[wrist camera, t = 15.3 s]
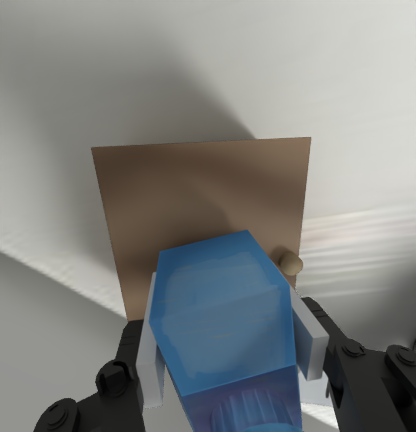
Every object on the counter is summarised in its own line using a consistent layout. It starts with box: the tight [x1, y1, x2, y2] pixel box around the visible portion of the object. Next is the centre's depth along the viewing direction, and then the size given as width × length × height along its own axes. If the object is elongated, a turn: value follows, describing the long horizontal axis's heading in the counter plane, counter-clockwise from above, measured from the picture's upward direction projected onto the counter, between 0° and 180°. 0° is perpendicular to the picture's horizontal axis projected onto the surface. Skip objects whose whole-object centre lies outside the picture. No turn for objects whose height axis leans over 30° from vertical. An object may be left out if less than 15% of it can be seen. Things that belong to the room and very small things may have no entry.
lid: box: [91, 137, 311, 322], centre depth 17 cm, size 19×14×2 cm
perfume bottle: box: [149, 230, 303, 432], centre depth 11 cm, size 6×6×12 cm
